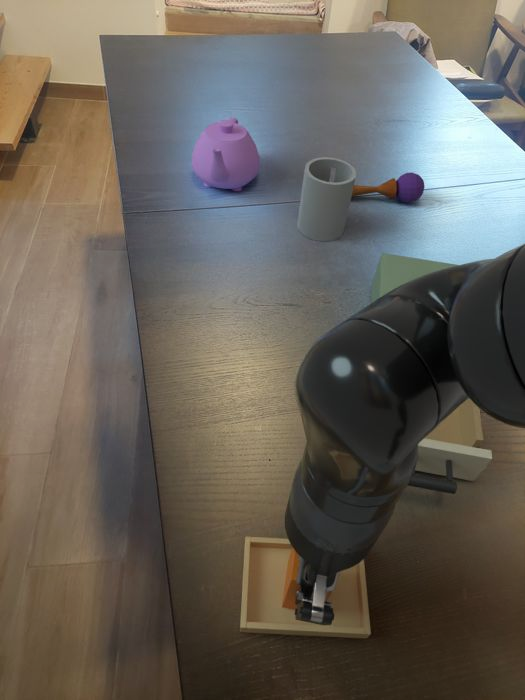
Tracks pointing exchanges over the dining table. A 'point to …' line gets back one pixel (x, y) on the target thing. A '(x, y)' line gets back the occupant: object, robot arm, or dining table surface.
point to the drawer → (452, 451)
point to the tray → (268, 588)
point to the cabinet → (400, 272)
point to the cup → (325, 199)
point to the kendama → (396, 188)
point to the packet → (292, 582)
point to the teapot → (225, 156)
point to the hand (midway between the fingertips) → (309, 572)
